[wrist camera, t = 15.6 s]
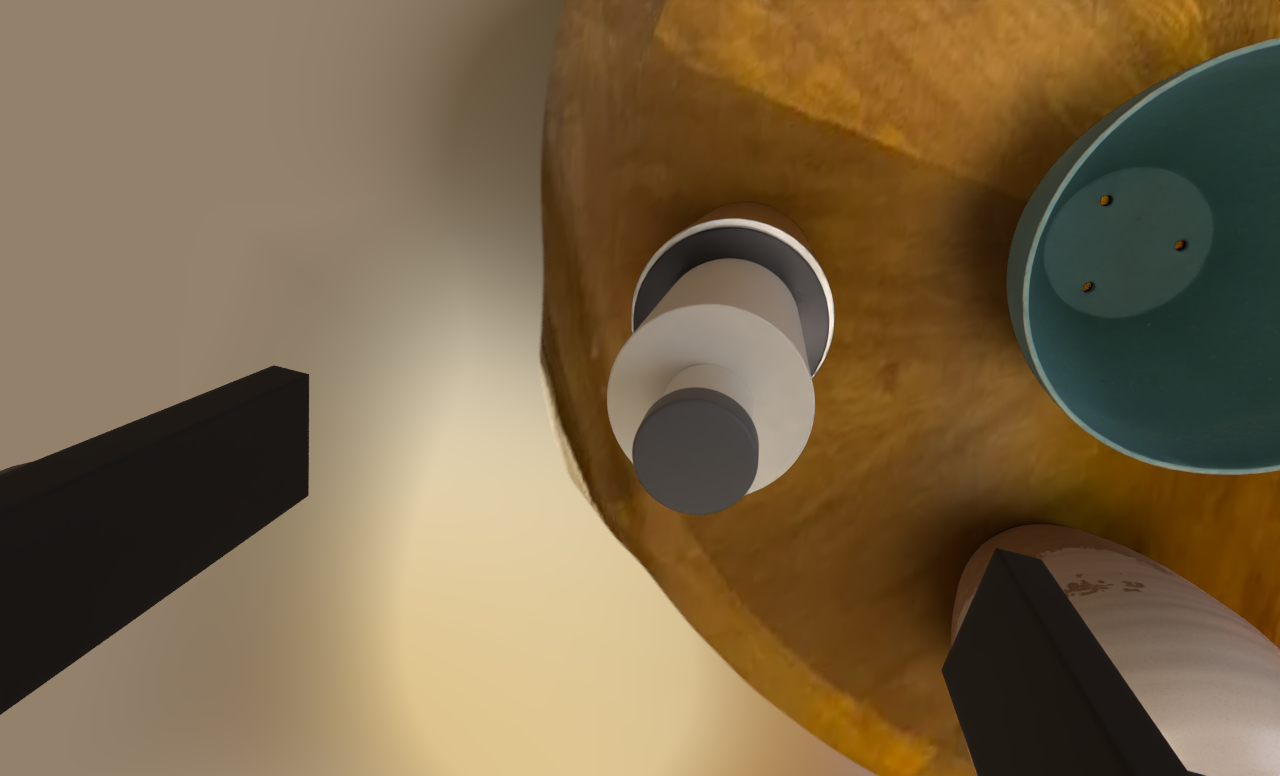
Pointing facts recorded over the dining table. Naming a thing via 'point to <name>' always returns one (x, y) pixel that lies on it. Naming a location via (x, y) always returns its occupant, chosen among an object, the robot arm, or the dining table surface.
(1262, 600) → the dining table surface
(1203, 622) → the vase
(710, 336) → the bottle
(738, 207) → the metal canister
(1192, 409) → the plant pot
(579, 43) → the dining table surface
